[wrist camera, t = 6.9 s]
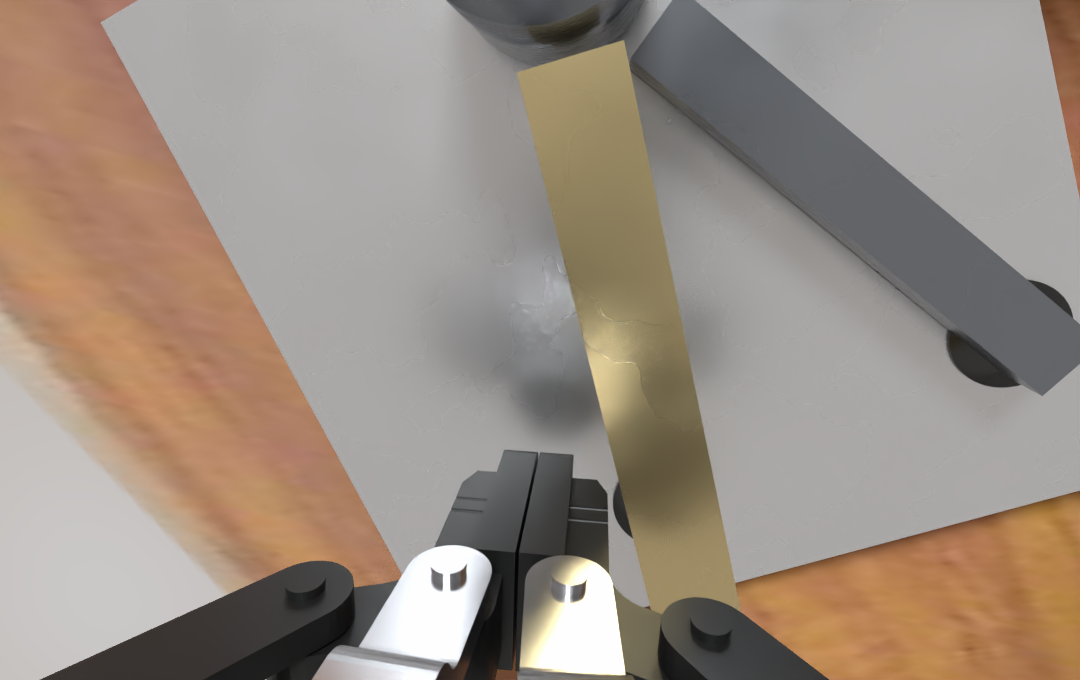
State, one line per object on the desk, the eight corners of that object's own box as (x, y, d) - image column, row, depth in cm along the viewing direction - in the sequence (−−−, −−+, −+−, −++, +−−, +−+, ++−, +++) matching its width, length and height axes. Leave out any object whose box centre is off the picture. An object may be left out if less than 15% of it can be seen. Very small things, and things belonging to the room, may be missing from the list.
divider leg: (542, 96, 12) (516, 72, 9) (619, 73, 12) (623, 40, 9) (649, 536, 15) (660, 649, 12) (714, 526, 15) (746, 638, 11)
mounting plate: (912, -424, 11) (1161, -905, 6) (1100, 455, 15) (1340, 598, 10) (135, 31, 14) (-105, -33, 9) (457, 633, 18) (403, 801, 13)
